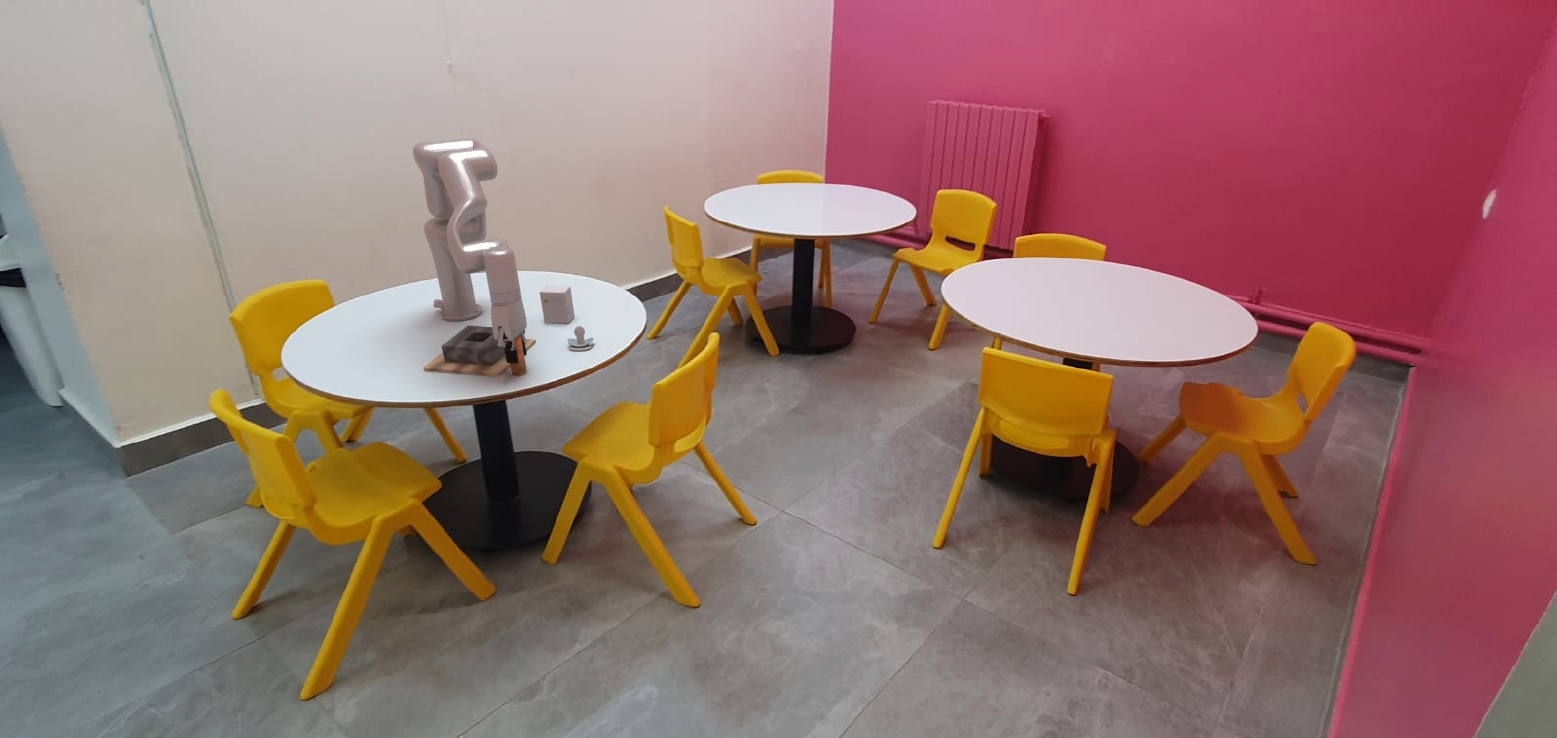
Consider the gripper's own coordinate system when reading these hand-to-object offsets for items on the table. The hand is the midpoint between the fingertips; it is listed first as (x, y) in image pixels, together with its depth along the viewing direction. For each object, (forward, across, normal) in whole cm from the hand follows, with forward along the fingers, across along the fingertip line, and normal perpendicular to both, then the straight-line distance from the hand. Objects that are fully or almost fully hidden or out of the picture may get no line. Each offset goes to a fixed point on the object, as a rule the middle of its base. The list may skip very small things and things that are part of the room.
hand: (516, 358), depth 198 cm
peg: (+4, 0, 0) cm, 4 cm away
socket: (+4, -8, -15) cm, 18 cm away
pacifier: (+5, -18, +10) cm, 21 cm away
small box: (+5, -36, -4) cm, 37 cm away
